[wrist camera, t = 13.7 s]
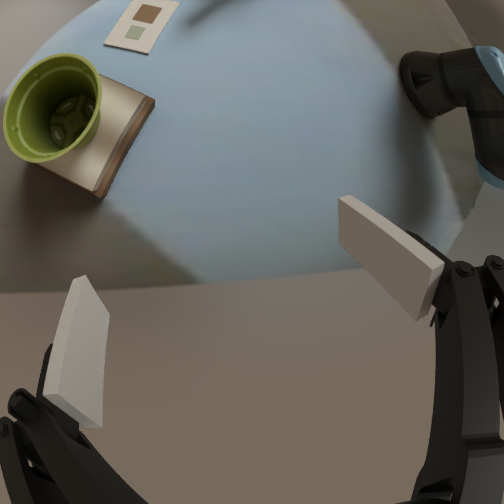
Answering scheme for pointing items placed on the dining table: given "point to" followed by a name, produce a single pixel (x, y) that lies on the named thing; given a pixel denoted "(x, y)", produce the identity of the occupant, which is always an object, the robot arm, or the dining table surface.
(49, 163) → the stacked square slabs
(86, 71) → the plant pot
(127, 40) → the page
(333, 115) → the dining table surface
